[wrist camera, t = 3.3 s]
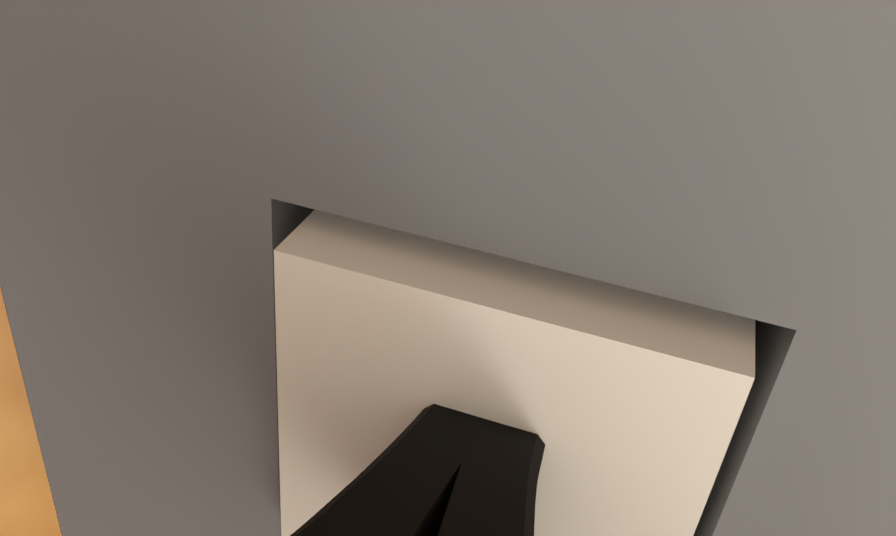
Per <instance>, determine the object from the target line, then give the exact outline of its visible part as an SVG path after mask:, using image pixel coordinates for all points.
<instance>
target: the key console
mask: <svg viewBox="0 0 896 536" xmlns="http://www.w3.org/2000/svg"><path fill="white" fill-rule="evenodd" d="M314 210H319V211H323V212H327V213H331V214H335V215H339V216H343V217H347V218H351V219H355V220H359V221H363V222H367V223H371V224H375V225H379V226H383V227H387V228H391V229H395V230H399V231H403V232H407V233H411V234H415V235H419V236H423V237H427V238H431V239H435V240H439V241H443V242H447V243H451V244H455V245H459V246H463V247H467V248H471V249H475V250H479V251H483V252H487V253H491V254H495V255H499V256H503V257H507V258H511V259H515V260H518V261H522V262H526V263H530V264H534V265H538V266H542V267H546V268H550V269H554V270H558V271H562V272H566V273H570V274H574V275H578V276H582V277H586V278H590V279H594V280H598V281H602V282H606V283H610V284H614V285H618V286H622V287H626V288H630V289H634V290H638V291H642V292H646V293H650V294H654V295H658V296H662V297H666V298H670V299H674V300H678V301H682V302H686V303H690V304H694V305H698V306H702V307H706V308H710V309H714V310H718V311H722V312H726V313H730V314H734V315H738V316H742V317H746V318H750V319H754V320H755V379H754V382H753V385H752V387H751V390H750V392H749V395H748V397H747V400H746V402H745V405H744V408H743V410H742V413H741V415H740V418H739V420H738V423H737V425H736V428H735V431H734V433H733V436H732V438H731V441H730V443H729V446H728V449H727V451H726V454H725V456H724V459H723V461H722V464H721V466H720V469H719V472H718V474H717V477H716V479H715V482H714V484H713V487H712V489H711V492H710V495H709V497H708V500H707V502H706V505H705V507H704V510H703V512H702V515H701V518H700V520H699V523H698V525H697V528H696V530H695V533H694V535H693V536H896V0H0V287H1V291H2V295H3V300H4V304H5V308H6V312H7V316H8V320H9V324H10V328H11V332H12V336H13V340H14V344H15V348H16V352H17V356H18V360H19V364H20V368H21V372H22V376H23V380H24V384H25V388H26V392H27V396H28V400H29V404H30V408H31V412H32V416H33V420H34V424H35V428H36V433H37V437H38V441H39V445H40V449H41V453H42V457H43V461H44V465H45V469H46V473H47V477H48V481H49V485H50V489H51V493H52V497H53V501H54V505H55V509H56V513H57V517H58V521H59V525H60V529H61V533H62V536H281V507H280V469H279V431H278V393H277V355H276V317H275V279H274V250H275V249H276V248H277V247H278V246H279V245H280V244H281V243H282V242H283V241H284V240H285V239H286V238H287V237H288V236H289V235H290V234H291V233H292V232H293V231H294V230H295V229H296V228H297V227H298V226H299V225H300V224H301V223H302V222H303V221H304V220H305V219H306V218H307V217H308V216H309V215H310V214H311V213H312V212H313V211H314Z"/></svg>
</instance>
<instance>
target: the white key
mask: <svg viewBox="0 0 896 536" xmlns="http://www.w3.org/2000/svg"><path fill="white" fill-rule="evenodd" d="M274 279H275V317H276V355H277V393H278V431H279V469H280V507H281V536H290V535H291V534H293V533H294V532H295V531H296V530H297V529H299V528H300V527H301V526H302V525H303V524H304V523H306V522H307V521H308V520H309V519H310V518H311V517H313V516H314V515H315V514H316V513H317V512H318V511H319V510H320V509H322V508H323V507H324V506H325V505H326V504H327V503H328V502H329V501H330V500H332V499H333V498H334V497H335V496H336V495H337V494H338V493H339V492H341V491H342V490H343V489H344V488H345V487H346V486H347V485H348V484H350V483H351V482H352V481H353V480H354V479H355V478H356V477H357V476H358V475H359V474H360V473H361V472H362V471H363V470H365V469H366V468H367V467H368V466H369V465H370V464H371V463H372V462H373V461H374V460H375V459H376V458H377V457H378V456H379V455H380V454H381V453H382V452H383V451H384V450H385V449H386V448H387V447H388V446H389V445H390V444H391V443H392V442H393V441H394V440H395V439H396V438H397V437H398V436H399V435H400V434H401V433H402V432H403V431H404V430H405V429H406V428H407V427H408V426H409V424H410V423H411V422H412V421H413V420H414V419H415V418H416V417H417V416H418V415H419V414H420V412H421V411H422V410H423V409H424V408H426V407H428V406H430V405H433V404H437V405H440V406H443V407H447V408H450V409H454V410H457V411H460V412H464V413H467V414H470V415H474V416H477V417H481V418H484V419H487V420H491V421H494V422H497V423H501V424H504V425H508V426H511V427H515V428H518V429H522V430H525V431H528V432H532V433H535V434H538V435H539V437H540V438H541V439H542V441H543V442H544V444H545V449H544V454H543V458H542V463H541V467H540V472H539V476H538V482H537V491H536V502H535V522H534V536H693V535H694V533H695V530H696V528H697V525H698V523H699V520H700V518H701V515H702V512H703V510H704V507H705V505H706V502H707V500H708V497H709V495H710V492H711V489H712V487H713V484H714V482H715V479H716V477H717V474H718V472H719V469H720V466H721V464H722V461H723V459H724V456H725V454H726V451H727V449H728V446H729V443H730V441H731V438H732V436H733V433H734V431H735V428H736V425H737V423H738V420H739V418H740V415H741V413H742V410H743V408H744V405H745V402H746V400H747V397H748V395H749V392H750V390H751V387H752V385H753V382H754V379H755V320H754V319H750V318H746V317H742V316H738V315H734V314H730V313H726V312H722V311H718V310H714V309H710V308H706V307H702V306H698V305H694V304H690V303H686V302H682V301H678V300H674V299H670V298H666V297H662V296H658V295H654V294H650V293H646V292H642V291H638V290H634V289H630V288H626V287H622V286H618V285H614V284H610V283H606V282H602V281H598V280H594V279H590V278H586V277H582V276H578V275H574V274H570V273H566V272H562V271H558V270H554V269H550V268H546V267H542V266H538V265H534V264H530V263H526V262H522V261H518V260H515V259H511V258H507V257H503V256H499V255H495V254H491V253H487V252H483V251H479V250H475V249H471V248H467V247H463V246H459V245H455V244H451V243H447V242H443V241H439V240H435V239H431V238H427V237H423V236H419V235H415V234H411V233H407V232H403V231H399V230H395V229H391V228H387V227H383V226H379V225H375V224H371V223H367V222H363V221H359V220H355V219H351V218H347V217H343V216H339V215H335V214H331V213H327V212H323V211H319V210H314V211H313V212H312V213H311V214H310V215H309V216H308V217H307V218H306V219H305V220H304V221H303V222H302V223H301V224H300V225H299V226H298V227H297V228H296V229H295V230H294V231H293V232H292V233H291V234H290V235H289V236H288V237H287V238H286V239H285V240H284V241H283V242H282V243H281V244H280V245H279V246H278V247H277V248H276V249H275V250H274Z"/></svg>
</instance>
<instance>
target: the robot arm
mask: <svg viewBox="0 0 896 536" xmlns="http://www.w3.org/2000/svg"><path fill="white" fill-rule="evenodd" d="M544 449H545V444H544V442H543V441H542V439H541V438H540V437H539V435H538V434H535V433H532V432H528V431H525V430H522V429H518V428H515V427H511V426H508V425H504V424H501V423H497V422H494V421H491V420H487V419H484V418H481V417H477V416H474V415H470V414H467V413H464V412H460V411H457V410H454V409H450V408H447V407H443V406H440V405H437V404H433V405H430V406H428V407H426V408H424V409H423V410H422V411H421V412H420V414H419V415H418V416H417V417H416V418H415V419H414V420H413V421H412V422H411V423H410V424H409V426H408V427H407V428H406V429H405V430H404V431H403V432H402V433H401V434H400V435H399V436H398V437H397V438H396V439H395V440H394V441H393V442H392V443H391V444H390V445H389V446H388V447H387V448H386V449H385V450H384V451H383V452H382V453H381V454H380V455H379V456H378V457H377V458H376V459H375V460H374V461H373V462H372V463H371V464H370V465H369V466H368V467H367V468H366V469H365V470H363V471H362V472H361V473H360V474H359V475H358V476H357V477H356V478H355V479H354V480H353V481H352V482H351V483H350V484H348V485H347V486H346V487H345V488H344V489H343V490H342V491H341V492H339V493H338V494H337V495H336V496H335V497H334V498H333V499H332V500H330V501H329V502H328V503H327V504H326V505H325V506H324V507H323V508H322V509H320V510H319V511H318V512H317V513H316V514H315V515H314V516H313V517H311V518H310V519H309V520H308V521H307V522H306V523H304V524H303V525H302V526H301V527H300V528H299V529H297V530H296V531H295V532H294V533H293V534H291V535H290V536H534V522H535V502H536V491H537V482H538V476H539V472H540V467H541V463H542V458H543V454H544Z"/></svg>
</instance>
